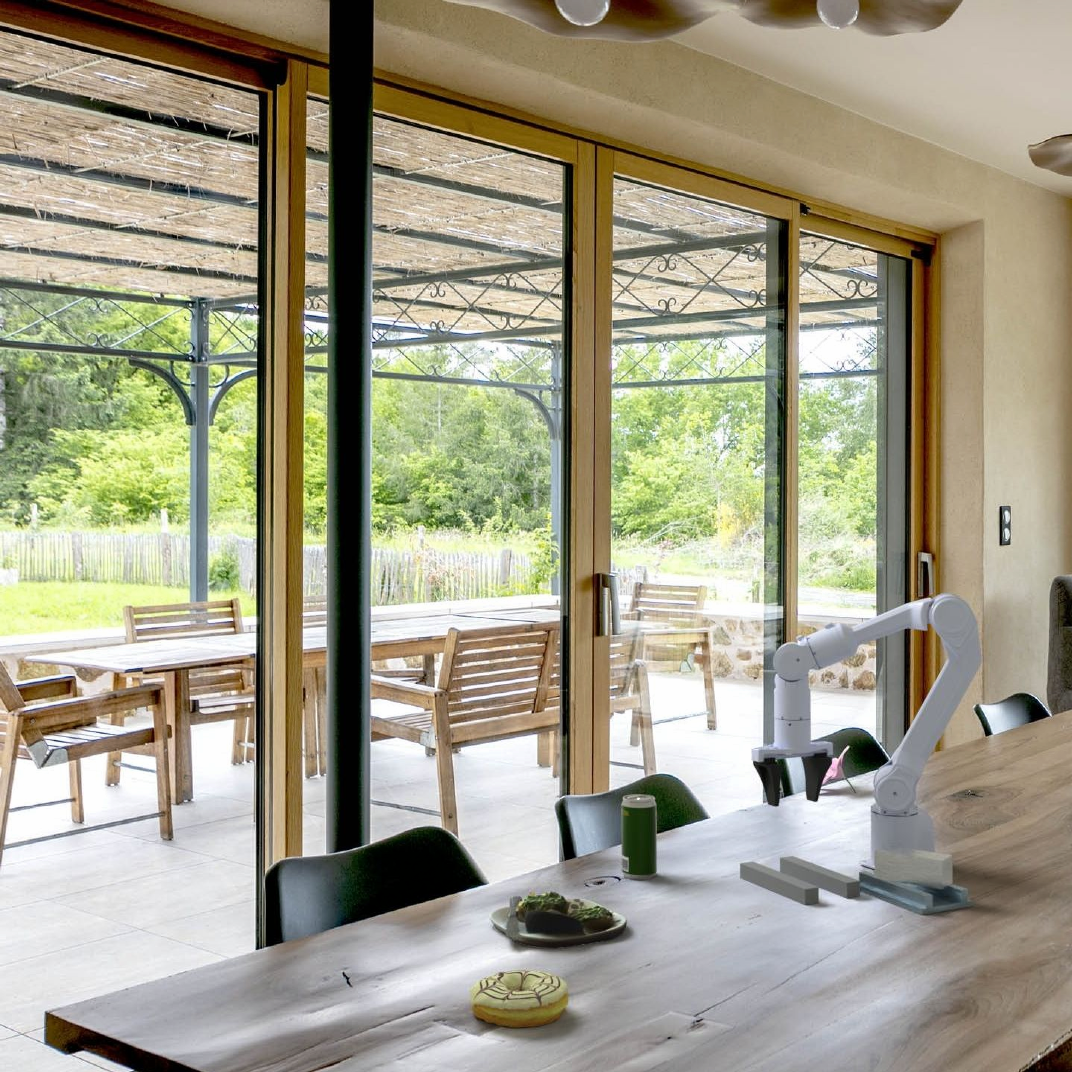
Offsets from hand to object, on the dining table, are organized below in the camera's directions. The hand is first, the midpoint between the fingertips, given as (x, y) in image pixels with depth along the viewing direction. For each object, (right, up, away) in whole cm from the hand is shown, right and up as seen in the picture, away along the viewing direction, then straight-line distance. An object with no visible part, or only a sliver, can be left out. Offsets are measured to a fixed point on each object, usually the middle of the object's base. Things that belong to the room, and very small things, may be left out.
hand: (792, 803), depth 204 cm
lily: (+19, -10, +55) cm, 59 cm away
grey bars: (-2, -9, -14) cm, 17 cm away
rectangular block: (+13, -7, -21) cm, 25 cm away
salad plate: (-38, -10, -34) cm, 52 cm away
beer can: (-25, -10, -8) cm, 28 cm away
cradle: (+13, -9, -20) cm, 26 cm away
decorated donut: (-43, -10, -64) cm, 77 cm away
